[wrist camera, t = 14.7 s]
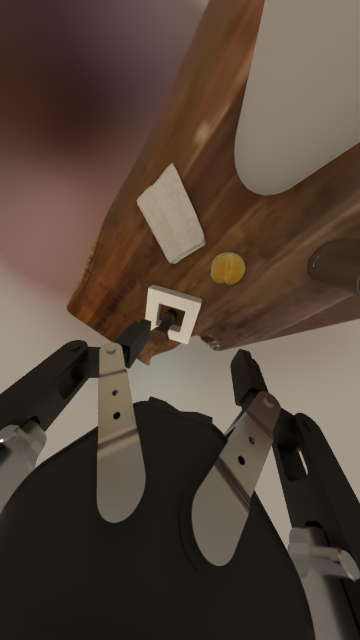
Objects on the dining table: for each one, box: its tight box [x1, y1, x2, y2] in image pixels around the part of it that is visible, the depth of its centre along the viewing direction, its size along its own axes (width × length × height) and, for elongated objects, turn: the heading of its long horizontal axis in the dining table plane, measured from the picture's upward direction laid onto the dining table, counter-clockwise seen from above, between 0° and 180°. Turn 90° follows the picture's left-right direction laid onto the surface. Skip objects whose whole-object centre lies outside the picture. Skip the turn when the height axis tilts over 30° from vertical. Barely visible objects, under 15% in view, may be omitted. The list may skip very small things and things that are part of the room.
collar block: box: [145, 285, 202, 344], centre depth 48 cm, size 17×17×4 cm
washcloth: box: [137, 163, 206, 264], centre depth 35 cm, size 12×18×3 cm, turn 31°
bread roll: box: [210, 252, 245, 285], centre depth 37 cm, size 8×9×4 cm
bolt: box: [149, 310, 176, 346], centre depth 43 cm, size 6×5×15 cm
